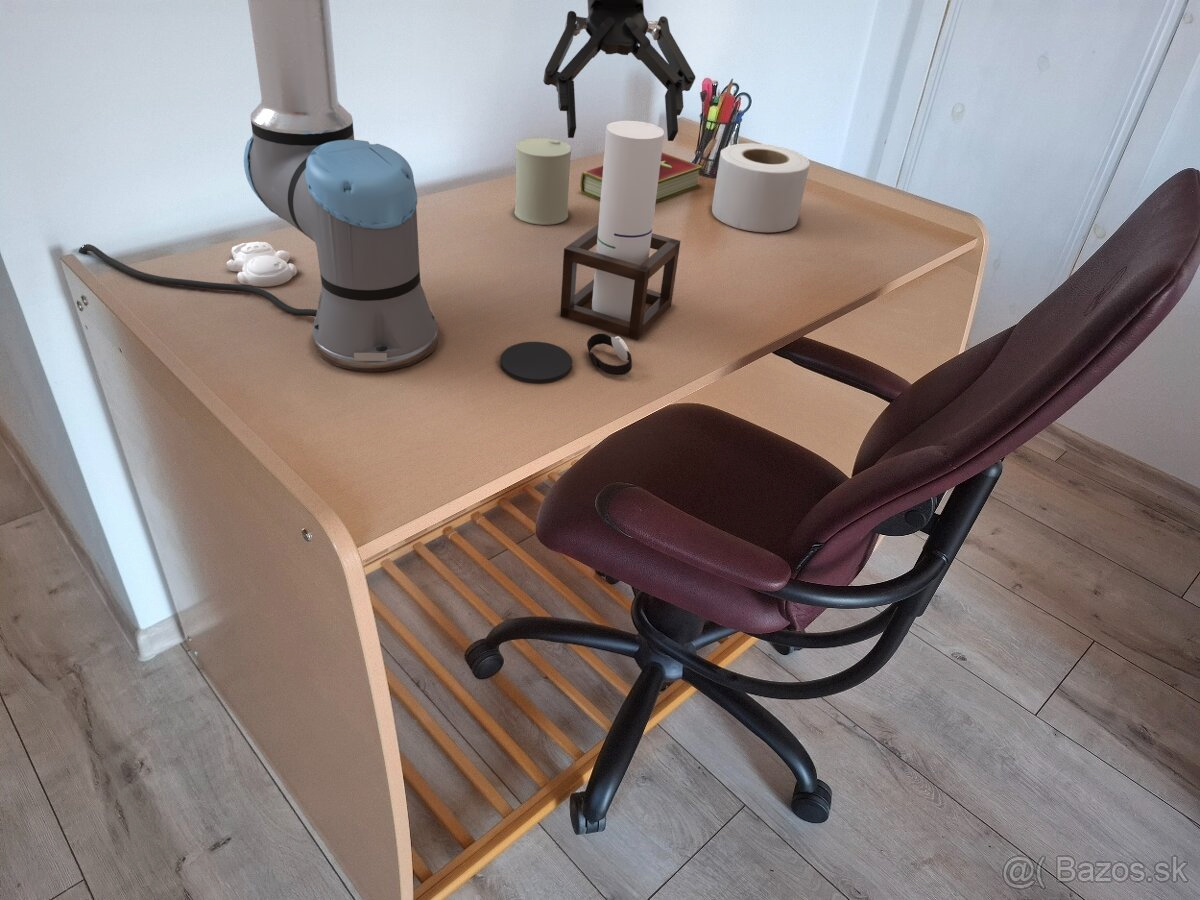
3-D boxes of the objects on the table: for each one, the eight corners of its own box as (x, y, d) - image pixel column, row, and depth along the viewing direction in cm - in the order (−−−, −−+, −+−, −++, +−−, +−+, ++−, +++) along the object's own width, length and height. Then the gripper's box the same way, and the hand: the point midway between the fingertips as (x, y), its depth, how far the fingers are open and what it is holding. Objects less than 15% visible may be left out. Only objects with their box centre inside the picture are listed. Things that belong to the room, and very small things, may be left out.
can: (578, 214, 145) (583, 144, 137) (547, 229, 138) (550, 157, 131) (535, 200, 148) (537, 131, 141) (503, 214, 142) (504, 143, 135)
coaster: (486, 369, 103) (486, 364, 103) (523, 338, 110) (523, 334, 109) (549, 391, 100) (550, 387, 100) (584, 358, 107) (584, 354, 106)
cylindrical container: (637, 327, 114) (659, 142, 99) (586, 318, 115) (601, 133, 100) (645, 303, 120) (668, 125, 105) (597, 295, 121) (612, 117, 106)
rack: (560, 316, 115) (563, 248, 109) (598, 284, 124) (603, 219, 118) (637, 340, 112) (645, 271, 105) (671, 306, 120) (680, 240, 114)
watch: (640, 374, 105) (643, 349, 103) (609, 383, 103) (612, 357, 100) (607, 345, 110) (609, 321, 108) (577, 353, 108) (578, 328, 105)
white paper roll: (694, 213, 149) (703, 152, 143) (741, 193, 159) (752, 136, 153) (768, 241, 142) (781, 178, 135) (812, 218, 152) (827, 159, 145)
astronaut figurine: (285, 248, 125) (282, 229, 123) (301, 282, 117) (298, 262, 115) (222, 255, 122) (218, 236, 120) (235, 291, 113) (231, 271, 112)
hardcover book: (579, 192, 153) (581, 169, 150) (651, 169, 166) (653, 147, 164) (629, 212, 147) (632, 189, 145) (699, 186, 160) (702, 165, 158)
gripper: (695, 9, 119) (705, 150, 116) (520, -1, 114) (526, 145, 112) (711, -27, 111) (722, 123, 109) (524, -40, 107) (531, 116, 105)
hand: (623, 134), depth 110 cm, fingers open, 13 cm apart
